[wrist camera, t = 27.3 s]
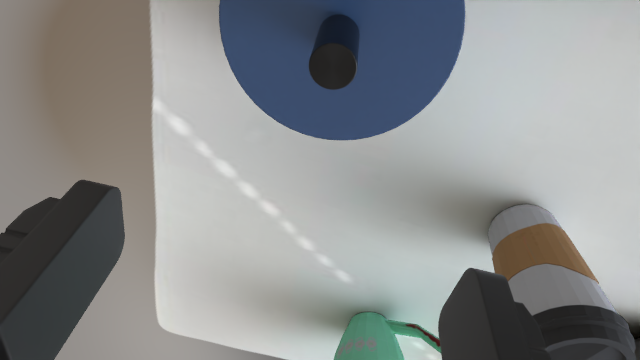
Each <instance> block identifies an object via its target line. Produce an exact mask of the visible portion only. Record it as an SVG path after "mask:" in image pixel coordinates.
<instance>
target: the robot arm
mask: <svg viewBox="0 0 640 360" xmlns="http://www.w3.org/2000/svg"><path fill="white" fill-rule="evenodd" d="M124 239H125V233H124V223H123V212H122V200H121V192H120V190H119V188H117V187H113V186H109V185H105V184H100V183H96V182H91V181H86V180H80V181H78V182H77V183H75V184H74V185H73V186H72V188H71V189H70V190H69V191H68V192H67V193H66V194H65V195H64V196H63V197H62V198H61V199H57V198H52V197H49V198H47V199H45V200H43V201H41V202H40V203H38V204H36V205H34V206H32V207H30V208H28V209H26V210H25V211H23V212H22V213H21V214H20V215H19V216H18V217H17V218H16V219H15V220H14V221H13V222H12V223H11V224H10V225H9V226H8V227H7V228H6V231H5V233H1V234H0V360H54V359H55V357H56V356H57V354H58V353H59V351H60V350H61V348H62V346H63V345H64V343H65V342H66V340H67V339H68V337H69V336H70V334H71V332H72V331H73V329H74V328H75V326H76V325H77V323H78V322H79V320H80V319H81V317H82V315H83V314H84V312H85V311H86V309H87V308H88V306H89V305H90V303H91V302H92V300H93V298H94V297H95V295H96V294H97V292H98V291H99V289H100V288H101V286H102V284H103V283H104V281H105V280H106V278H107V277H108V275H109V274H110V272H111V271H112V269H113V267H114V266H115V264H116V263H117V261H118V259H119V257H120V255H121V252H122V249H123V245H124ZM438 331H439V340H440V347H441V354H442V360H551V357H550V354H549V353H547V346H546V343H545V340H544V338H543V335H542V332H541V329H540V327H539V325H538V323H537V322H536V320H535V319H534V318H533V316H532V315H531V314H530V312H529V311H528V310H527V308H526V307H525V305H524V304H523V303H519V302H515V301H514V299H513V296H512V293H511V290H510V287H509V284H508V281H507V279H506V277H505V276H503V275H500V274H496V273H491V272H487V271H483V270H478V269H474V268H469V269H467V270H466V271H465V272H464V274H463V276H462V277H461V279H460V280H459V282H458V283H457V285H456V287H455V288H454V290H453V291H452V293H451V295H450V296H449V298H448V299H447V301H446V303H445V304H444V306H443V308H442V310H441V313H440V318H439V326H438Z"/></svg>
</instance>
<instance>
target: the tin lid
mask: <svg viewBox="0 0 640 360" xmlns="http://www.w3.org/2000/svg"><path fill="white" fill-rule="evenodd" d="M219 24H220V32H221V39H222V43H223V47H224V51H225V55H226V57H227V60H228V62H229V65H230V67H231V69H232V71H233V73H234V75H235V77H236V79H237V81H238V82H239V84H240V85H241V87H242V88H243V89H244V91H245V92H246V94H247V95H248V96H249V97H250V98H251V99H252V101H253V102H254V103H255V104H256V105H257V106H258V107H259V108H261V109H262V110H263V111H264V112H265V113H266V114H267V115H269V116H270V117H272V118H273V119H274V120H276V121H277V122H279V123H281V124H283V125H284V126H286V127H288V128H290V129H292V130H295V131H297V132H300V133H302V134H305V135H309V136H312V137H316V138H322V139H328V140H356V139H362V138H368V137H372V136H375V135H379V134H382V133H385V132H387V131H389V130H392V129H394V128H396V127H398V126H400V125H401V124H403V123H405V122H407V121H408V120H410V119H411V118H412V117H414V116H415V115H416V114H418V113H419V112H420V111H421V110H423V109H424V108H425V107H426V106H427V105H428V104H429V103H430V102H431V101H432V100H433V98H434V97H435V96H436V95H437V94H438V92H439V91H440V90H441V88H442V87H443V85H444V84H445V82H446V81H447V79H448V78H449V76H450V74H451V72H452V70H453V68H454V65H455V63H456V61H457V58H458V55H459V52H460V49H461V45H462V40H463V35H464V26H465V2H464V0H220V5H219Z"/></svg>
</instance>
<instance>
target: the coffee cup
mask: <svg viewBox="0 0 640 360" xmlns="http://www.w3.org/2000/svg"><path fill="white" fill-rule="evenodd" d="M488 238H489V243H490V247H491V252H492V256H493V257H492V260H493V265H494V270H495V273H496V274H500V275H503V276H505V277H506V279H507V281H508V284H509V287H510V290H511V293H512V296H513V299H514V301H515V302H519V303H523V304H524V305H525V307H526V308H527V310H528V311H529V312H530V314H531V315H532V316H533V318H534V319H535V320H536V322H537V323H538V325H539V327H540V329H541V332H542V335H543V338H544V340H545V343H546V346H547V353H549V354H550V357H551V360H636V355H635V353H634V351H635V349H636V347H635V340H634V338H633V336H632V334H631V333H630V330H629V325H628V324H627V322H626V321H625V320H624V318H623V317H622V316H620V315H618V314H617V312H616V310H615V309H614V307H613V306H612V304H611V303H610V301H609V300H608V298H607V297H606V295H605V294H604V292H603V291H602V289H601V287H600V286H599V282H598V281H597V279H596V278H595V276H594V275H593V273H592V272H591V270H590V269H589V267H588V266H587V264H586V262H585V261H584V259H583V258H582V256H581V255H580V253H579V252H578V250H577V249H576V247H575V246H574V244H573V243H572V241H571V240H570V238H569V237H568V235H567V234H566V233H565V231H564V230H563V229H562V228H561V226H560V225H559V223H558V222H557V220H556V219H555V217H554V216H553V215H552V214H551V213H550V212H548V211H547V210H545V209H543V208H541V207H539V206H536V205H529V204H524V205H516V206H513V207H510V208H507V209H505V210H503V211H502V212H501V213H499V214H498V215H497V216H496V217H495V218H494V219H493V221H492V223H491V226H490V228H489V231H488Z"/></svg>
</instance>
